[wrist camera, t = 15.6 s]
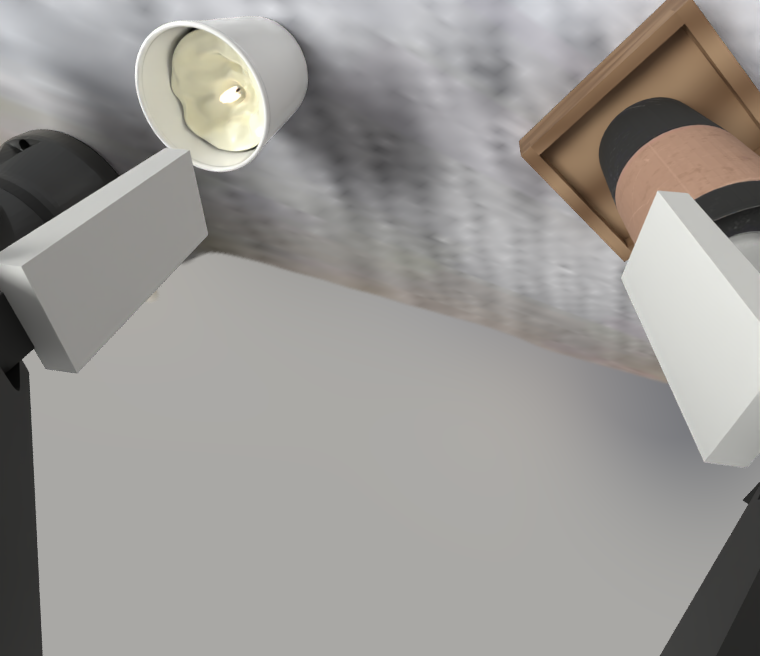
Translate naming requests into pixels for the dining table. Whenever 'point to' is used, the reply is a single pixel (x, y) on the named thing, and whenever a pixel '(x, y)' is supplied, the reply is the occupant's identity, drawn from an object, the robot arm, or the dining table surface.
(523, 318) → the dining table surface
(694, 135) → the travel mug
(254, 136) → the candle holder
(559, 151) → the tray
